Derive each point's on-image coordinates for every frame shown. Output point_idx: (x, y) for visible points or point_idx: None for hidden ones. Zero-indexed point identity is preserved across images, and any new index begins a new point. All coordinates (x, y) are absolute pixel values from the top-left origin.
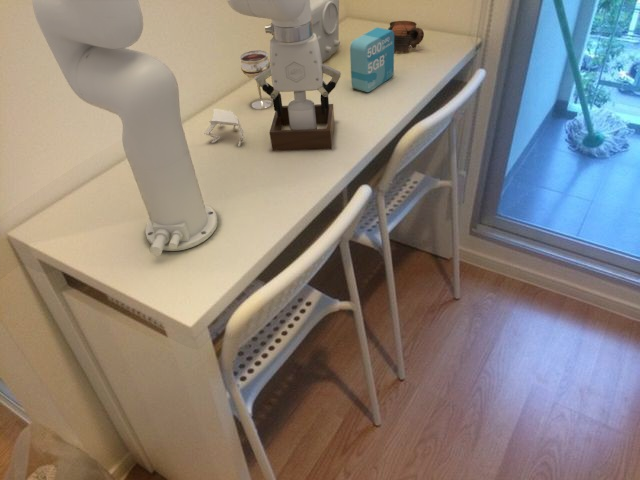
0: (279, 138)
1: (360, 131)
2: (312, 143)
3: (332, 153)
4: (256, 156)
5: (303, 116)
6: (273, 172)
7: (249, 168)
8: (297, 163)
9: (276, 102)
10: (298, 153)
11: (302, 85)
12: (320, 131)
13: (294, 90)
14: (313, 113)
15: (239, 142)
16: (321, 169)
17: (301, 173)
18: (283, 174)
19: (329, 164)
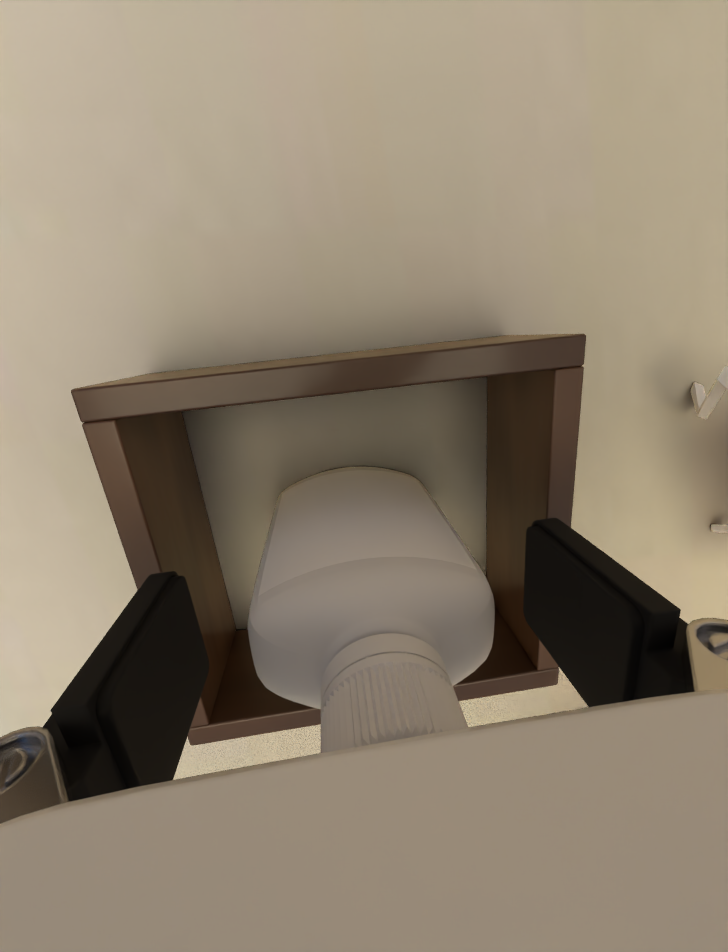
0: (489, 341)
1: (42, 576)
2: (257, 363)
3: (127, 324)
4: (595, 268)
5: (340, 535)
6: (468, 47)
7: (631, 107)
8: (326, 183)
9: (642, 587)
10: (346, 315)
11: (275, 916)
12: (161, 378)
13: (474, 735)
14: (259, 575)
15: (703, 401)
16: (134, 95)
17: (266, 30)
18: (394, 14)
19: (99, 173)
